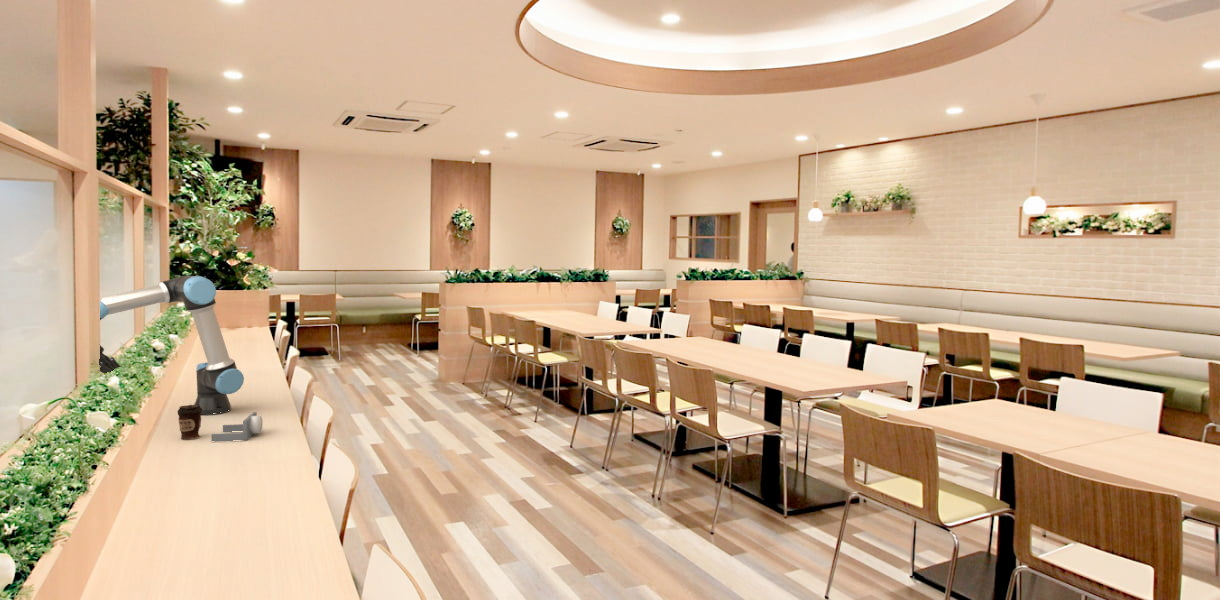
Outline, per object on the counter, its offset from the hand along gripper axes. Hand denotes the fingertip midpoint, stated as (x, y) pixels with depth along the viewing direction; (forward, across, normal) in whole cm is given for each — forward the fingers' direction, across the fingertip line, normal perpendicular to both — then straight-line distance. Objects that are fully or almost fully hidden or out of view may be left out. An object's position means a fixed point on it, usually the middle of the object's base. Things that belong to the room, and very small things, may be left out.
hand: (137, 390), depth 280 cm
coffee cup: (+27, 0, -1) cm, 27 cm away
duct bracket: (+39, 0, +12) cm, 41 cm away
